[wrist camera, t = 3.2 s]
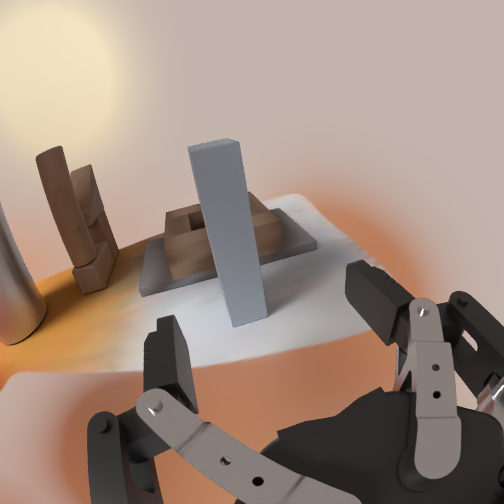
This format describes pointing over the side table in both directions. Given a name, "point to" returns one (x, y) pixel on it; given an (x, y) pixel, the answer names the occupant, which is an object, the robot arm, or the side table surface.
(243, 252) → the rectangular block
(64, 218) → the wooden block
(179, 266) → the wooden socket base
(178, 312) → the side table surface
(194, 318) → the side table surface
